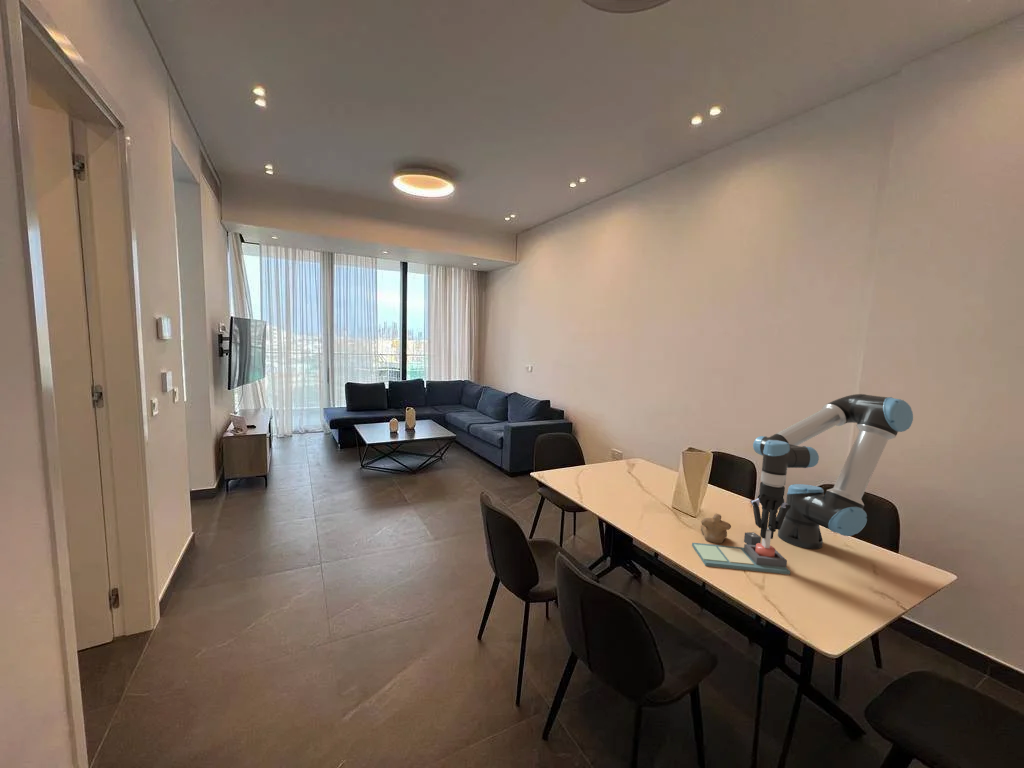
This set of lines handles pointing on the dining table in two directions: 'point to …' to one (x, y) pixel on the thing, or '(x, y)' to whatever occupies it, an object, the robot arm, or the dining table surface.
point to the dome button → (764, 550)
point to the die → (752, 538)
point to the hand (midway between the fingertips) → (765, 546)
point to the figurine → (714, 529)
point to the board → (740, 558)
